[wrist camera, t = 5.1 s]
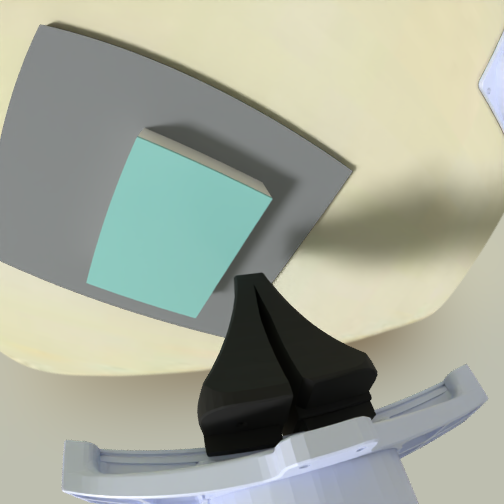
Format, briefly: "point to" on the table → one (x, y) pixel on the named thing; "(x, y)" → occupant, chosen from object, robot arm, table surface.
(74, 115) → the mat
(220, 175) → the tile
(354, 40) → the table surface
